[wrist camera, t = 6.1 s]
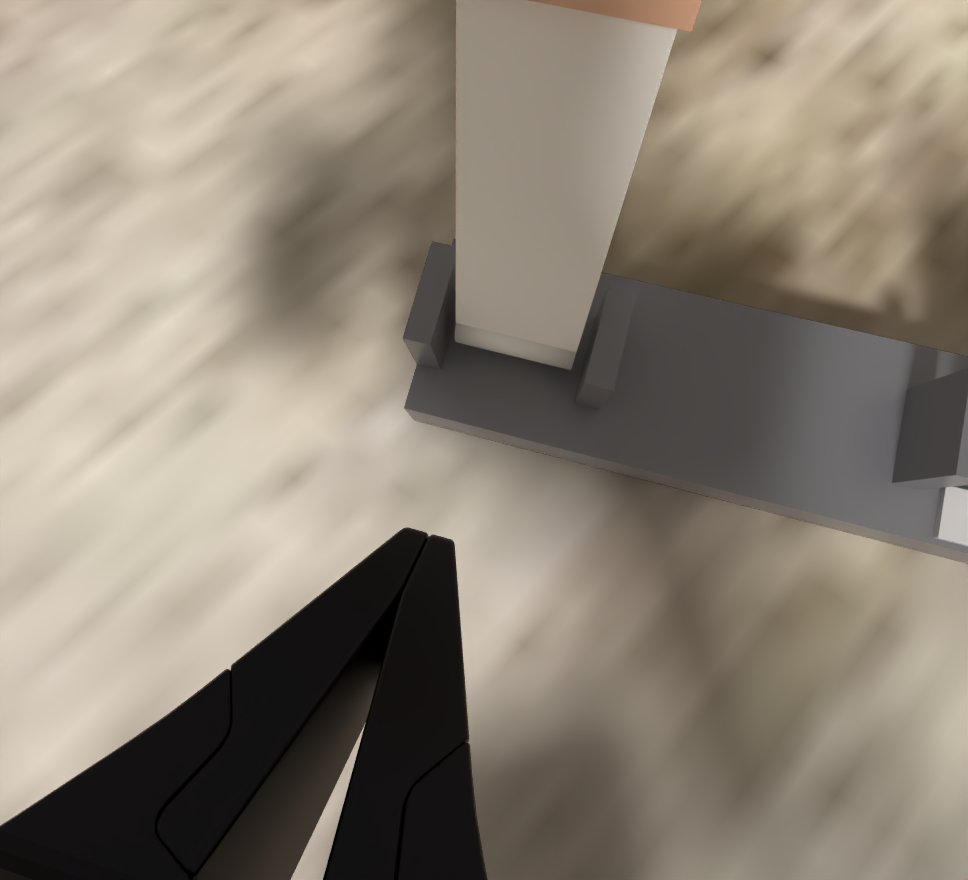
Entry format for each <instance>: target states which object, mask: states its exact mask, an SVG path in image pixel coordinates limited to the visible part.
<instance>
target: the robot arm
mask: <svg viewBox="0 0 968 880" xmlns="http://www.w3.org/2000/svg"><path fill="white" fill-rule="evenodd" d="M365 722H366V724H365ZM364 724H365V727H364ZM363 727H364V731H363V735H362V738H361V742H360V746H359V749H358V753H357V757H356V760H355V764H354V768H353V771H352V775H351V779H350V782H349V786H348V790H347V793H346V797H345V801H344V804H343V808H342V812H341V815H340V819H339V823H338V826H337V830H336V834H335V837H334V841H333V845H332V848H331V852H330V856H329V859H328V863H327V867H326V870H325V874H324V878H323V880H488V879H487V874H486V869H485V863H484V857H483V851H482V846H481V840H480V834H479V828H478V821H477V815H476V806H475V797H474V787H473V778H472V767H471V753H470V745H469V743H468V741H469V730H468V716H467V703H466V690H465V676H464V663H463V650H462V636H461V623H460V610H459V596H458V583H457V570H456V556H455V544H454V542H453V540H451V539H447V538H444V537H440V536H437V535H430V536H428V534H427V533H425V532H422V531H419V530H415V529H411V528H403V529H402V530H400V531H399V532H398V533H396V534H395V535H394V536H393V537H391V538H390V539H389V540H388V541H386V542H385V543H384V544H383V545H381V546H380V547H379V548H378V549H376V550H375V551H374V552H373V553H371V554H370V555H369V556H368V557H366V558H365V559H364V560H363V561H361V562H360V563H359V564H358V565H356V566H355V567H354V568H353V569H351V570H350V571H349V572H348V573H346V574H345V575H344V576H343V577H341V578H340V579H339V580H338V581H336V582H335V583H334V584H333V585H331V586H330V587H329V588H327V589H326V590H325V591H324V592H322V593H321V594H320V595H319V596H317V597H316V598H315V599H314V600H312V601H311V602H310V603H309V604H307V605H306V606H305V607H304V608H302V609H301V610H300V611H299V612H297V613H296V614H295V615H294V616H292V617H291V618H290V619H289V620H287V621H286V622H285V623H284V624H282V625H281V626H280V627H279V628H277V629H276V630H275V631H274V632H272V633H271V634H270V635H269V636H267V637H266V638H265V639H264V640H262V641H261V642H260V643H259V644H257V645H256V646H255V647H254V648H252V649H251V650H250V651H249V652H247V653H246V654H245V655H244V656H242V657H241V658H240V659H238V660H237V661H236V662H235V663H233V664H232V666H231V671H230V670H229V669H226V670H224V671H223V672H222V673H221V674H219V675H218V676H217V677H216V678H214V679H213V680H212V681H211V682H209V683H208V684H207V685H206V686H204V687H203V688H202V689H201V690H199V691H198V692H197V693H195V694H194V695H193V696H191V697H190V698H189V699H187V700H186V701H185V702H183V703H182V704H181V705H179V706H178V707H177V708H175V709H174V710H173V711H171V712H170V713H169V714H168V715H166V716H165V717H163V718H162V719H160V720H159V721H157V722H156V723H155V724H153V725H152V726H150V727H149V728H147V729H146V730H144V731H143V732H141V733H140V734H139V735H137V736H136V737H134V738H133V739H131V740H130V741H128V742H127V743H125V744H124V745H122V746H121V747H119V748H118V749H116V750H115V751H113V752H112V753H110V754H109V755H107V756H106V757H104V758H103V759H101V760H100V761H98V762H97V763H95V764H94V765H92V766H91V767H89V768H88V769H86V770H85V771H83V772H81V773H80V774H78V775H77V776H75V777H74V778H72V779H71V780H69V781H68V782H66V783H65V784H63V785H62V786H60V787H59V788H57V789H56V790H54V791H53V792H51V793H50V794H48V795H47V796H45V797H44V798H42V799H41V800H39V801H37V802H36V803H34V804H33V805H31V806H30V807H28V808H27V809H25V810H24V811H22V812H21V813H19V814H18V815H16V816H15V817H13V818H12V819H10V820H8V821H7V822H5V823H4V824H2V825H1V826H0V880H291V877H292V875H293V873H294V871H295V869H296V867H297V865H298V863H299V861H300V859H301V856H302V854H303V852H304V850H305V848H306V846H307V844H308V842H309V840H310V838H311V836H312V833H313V831H314V829H315V827H316V825H317V823H318V821H319V819H320V817H321V815H322V812H323V810H324V808H325V806H326V804H327V802H328V800H329V798H330V796H331V794H332V792H333V789H334V787H335V785H336V783H337V781H338V779H339V777H340V775H341V773H342V771H343V768H344V766H345V764H346V762H347V760H348V758H349V756H350V754H351V752H352V750H353V747H354V745H355V743H356V741H357V739H358V737H359V735H360V733H361V731H362V729H363Z"/></svg>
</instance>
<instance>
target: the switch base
mask: <svg viewBox="0 0 968 880" xmlns="http://www.w3.org/2000/svg"><path fill="white" fill-rule="evenodd" d="M455 326H456V239H454V241H453V244H452V246H449V245H445V244H441V243H436V242H432V243H431V246H430V250H429V253H428V256H427V260H426V263H425V266H424V270H423V273H422V276H421V280H420V283H419V286H418V290H417V293H416V296H415V300H414V303H413V306H412V309H411V313H410V316H409V319H408V323H407V326H406V329H405V333H404V336H403V340H404V342H405V343H406V345H407V347H408V349H409V351H410V352H411V354H412V356H413V358H414V360H415V361H416V363H417V366H416V370H415V373H414V376H413V380H412V383H411V386H410V390H409V393H408V397H407V400H406V403H405V407H404V409H405V410H406V411H407V412H408V413H409V415H410V416H411V417H412V418H413V419H414V420H415V421H419V422H423V423H427V424H431V425H435V426H438V427H442V428H446V429H450V430H454V431H458V432H462V433H465V434H469V435H473V436H477V437H481V438H485V439H489V440H492V441H496V442H500V443H504V444H508V445H512V446H516V447H520V448H523V449H527V450H531V451H535V452H539V453H543V454H547V455H550V456H554V457H558V458H562V459H566V460H570V461H574V462H577V463H581V464H585V465H589V466H593V467H597V468H601V469H604V470H608V471H612V472H616V473H620V474H624V475H628V476H631V477H635V478H639V479H643V480H647V481H651V482H655V483H658V484H662V485H666V486H670V487H674V488H678V489H682V490H686V491H689V492H693V493H697V494H701V495H705V496H709V497H713V498H716V499H720V500H724V501H728V502H732V503H736V504H740V505H743V506H747V507H751V508H755V509H759V510H763V511H767V512H770V513H774V514H778V515H782V516H786V517H790V518H794V519H797V520H801V521H805V522H809V523H813V524H817V525H821V526H824V527H828V528H832V529H836V530H840V531H844V532H848V533H852V534H855V535H859V536H863V537H867V538H871V539H875V540H879V541H882V542H886V543H890V544H894V545H898V546H902V547H906V548H909V549H913V550H917V551H921V552H925V553H929V554H933V555H936V556H940V557H944V558H948V559H952V560H956V561H960V562H963V563H967V564H968V356H963V355H959V354H955V353H950V352H946V351H942V350H937V349H933V348H929V347H924V346H920V345H916V344H911V343H907V342H903V341H898V340H894V339H889V338H885V337H881V336H876V335H872V334H868V333H863V332H859V331H855V330H850V329H846V328H842V327H837V326H833V325H829V324H824V323H820V322H815V321H811V320H807V319H802V318H798V317H794V316H789V315H785V314H781V313H776V312H772V311H768V310H763V309H759V308H755V307H750V306H746V305H741V304H737V303H733V302H728V301H724V300H720V299H715V298H711V297H707V296H702V295H698V294H694V293H689V292H685V291H681V290H676V289H672V288H667V287H663V286H659V285H654V284H650V283H646V282H641V281H637V280H633V279H628V278H624V277H620V276H615V275H611V274H607V273H602V272H601V275H600V279H599V282H598V285H597V288H596V291H595V295H594V298H593V301H592V304H591V307H590V311H589V314H588V317H587V320H586V323H585V327H584V330H583V333H582V336H581V339H580V343H579V346H578V349H577V352H576V355H575V359H574V362H573V366H572V369H571V370H568V369H564V368H559V367H555V366H551V365H547V364H543V363H539V362H535V361H531V360H527V359H523V358H519V357H515V356H511V355H506V354H502V353H498V352H494V351H490V350H486V349H482V348H478V347H474V346H470V345H466V344H462V343H458V342H455Z"/></svg>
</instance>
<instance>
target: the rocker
mask: <svg viewBox="0 0 968 880" xmlns="http://www.w3.org/2000/svg"><path fill="white" fill-rule="evenodd" d="M701 2H702V0H456V326H455V342H458V343H462V344H466V345H470V346H474V347H478V348H482V349H486V350H490V351H494V352H498V353H502V354H506V355H511V356H515V357H519V358H523V359H527V360H531V361H535V362H539V363H543V364H547V365H551V366H555V367H559V368H564V369H568V370H571V369H572V366H573V362H574V359H575V355H576V352H577V349H578V346H579V343H580V339H581V336H582V333H583V330H584V327H585V323H586V320H587V317H588V314H589V311H590V307H591V304H592V301H593V298H594V295H595V291H596V288H597V285H598V282H599V279H600V275H601V272H602V269H603V266H604V263H605V259H606V256H607V253H608V250H609V246H610V243H611V240H612V237H613V234H614V230H615V227H616V224H617V221H618V218H619V214H620V211H621V208H622V205H623V202H624V198H625V195H626V192H627V189H628V186H629V182H630V179H631V176H632V173H633V170H634V166H635V163H636V160H637V157H638V154H639V150H640V147H641V144H642V141H643V138H644V134H645V131H646V128H647V125H648V122H649V118H650V115H651V112H652V109H653V106H654V102H655V99H656V96H657V93H658V90H659V86H660V83H661V80H662V77H663V74H664V70H665V67H666V64H667V61H668V58H669V54H670V51H671V48H672V45H673V42H674V38H675V35H676V32H677V29H680V30H685V31H690V32H692V29H693V26H694V23H695V20H696V17H697V14H698V11H699V8H700V5H701Z"/></svg>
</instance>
